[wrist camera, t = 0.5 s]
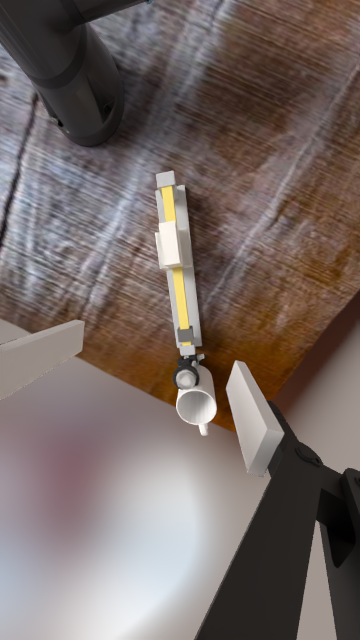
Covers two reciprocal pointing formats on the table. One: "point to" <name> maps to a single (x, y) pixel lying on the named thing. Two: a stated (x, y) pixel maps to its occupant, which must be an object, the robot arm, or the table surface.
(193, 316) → the linear slide rail
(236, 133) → the table surface
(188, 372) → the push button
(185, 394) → the mug
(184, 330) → the long yellow bar
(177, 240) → the white stepped block
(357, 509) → the robot arm
